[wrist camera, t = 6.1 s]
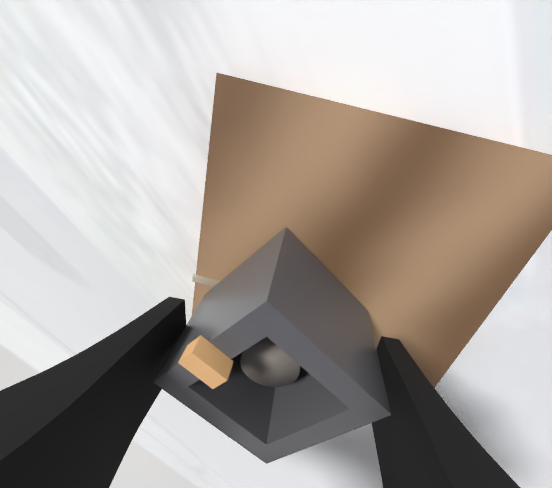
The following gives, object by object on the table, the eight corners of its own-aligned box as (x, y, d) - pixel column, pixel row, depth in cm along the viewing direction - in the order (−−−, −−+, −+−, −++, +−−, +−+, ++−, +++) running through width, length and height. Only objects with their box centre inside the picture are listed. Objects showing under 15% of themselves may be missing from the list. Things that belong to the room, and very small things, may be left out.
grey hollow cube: (367, 310, 12) (397, 437, 7) (281, 359, 14) (263, 483, 9) (280, 221, 11) (252, 309, 6) (199, 289, 13) (133, 394, 8)
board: (572, 160, 9) (755, 202, 5) (415, 387, 15) (448, 490, 11) (223, 74, 10) (156, 55, 6) (195, 327, 15) (150, 405, 11)
